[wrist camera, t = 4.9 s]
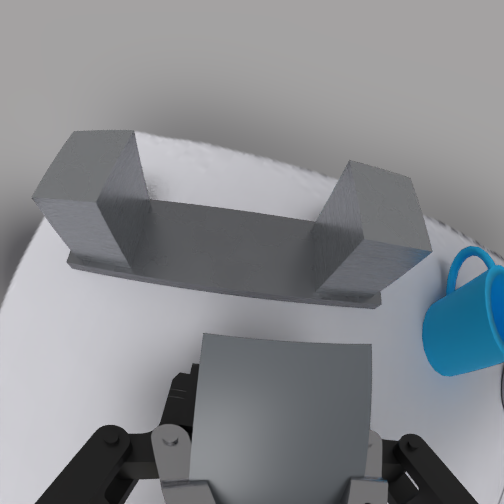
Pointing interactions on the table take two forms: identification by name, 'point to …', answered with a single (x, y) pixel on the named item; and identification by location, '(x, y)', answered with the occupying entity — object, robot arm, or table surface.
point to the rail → (231, 231)
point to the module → (280, 419)
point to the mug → (467, 320)
